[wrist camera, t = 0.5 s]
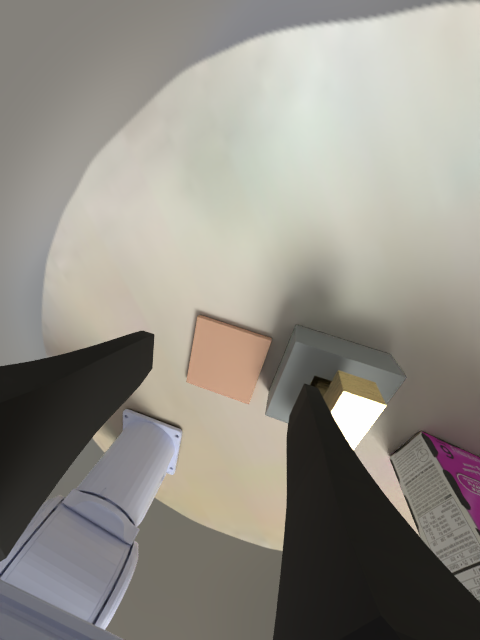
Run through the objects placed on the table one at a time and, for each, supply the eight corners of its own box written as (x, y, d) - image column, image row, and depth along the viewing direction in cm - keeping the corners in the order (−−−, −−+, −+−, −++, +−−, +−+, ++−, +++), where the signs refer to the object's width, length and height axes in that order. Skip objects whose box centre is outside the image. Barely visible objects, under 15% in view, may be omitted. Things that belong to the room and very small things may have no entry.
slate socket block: (347, 419, 22) (354, 447, 19) (268, 392, 23) (265, 415, 20) (390, 354, 19) (406, 377, 16) (295, 324, 19) (295, 341, 17)
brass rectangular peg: (319, 409, 22) (328, 483, 16) (295, 401, 23) (295, 470, 16) (356, 343, 19) (386, 405, 13) (328, 334, 19) (343, 391, 13)
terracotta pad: (249, 400, 24) (248, 404, 23) (188, 379, 25) (186, 381, 24) (271, 338, 20) (271, 341, 20) (199, 314, 21) (197, 316, 21)
